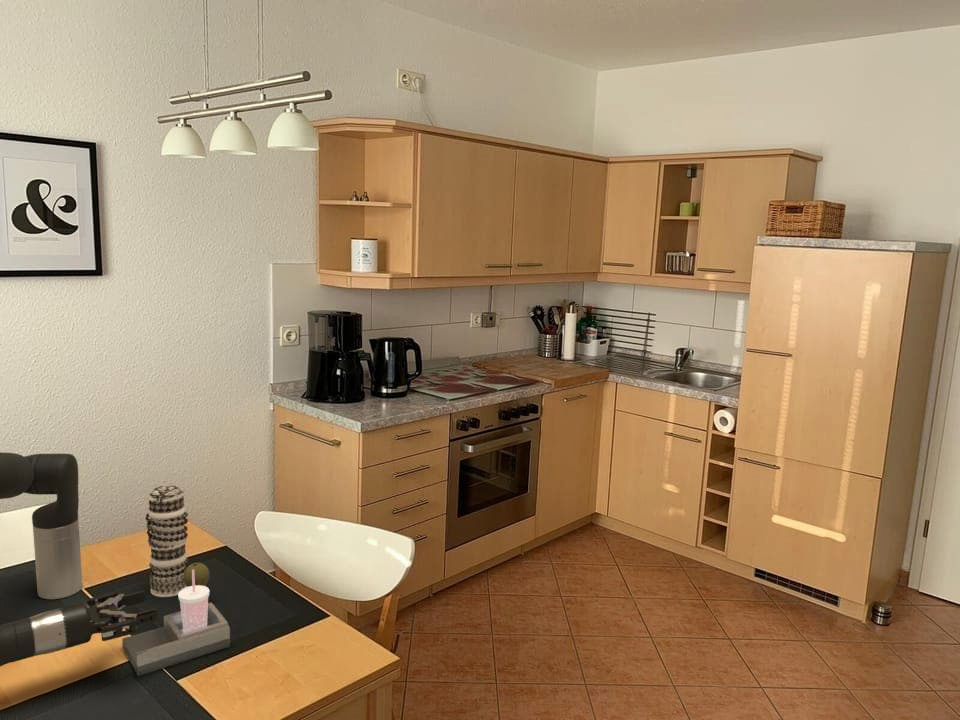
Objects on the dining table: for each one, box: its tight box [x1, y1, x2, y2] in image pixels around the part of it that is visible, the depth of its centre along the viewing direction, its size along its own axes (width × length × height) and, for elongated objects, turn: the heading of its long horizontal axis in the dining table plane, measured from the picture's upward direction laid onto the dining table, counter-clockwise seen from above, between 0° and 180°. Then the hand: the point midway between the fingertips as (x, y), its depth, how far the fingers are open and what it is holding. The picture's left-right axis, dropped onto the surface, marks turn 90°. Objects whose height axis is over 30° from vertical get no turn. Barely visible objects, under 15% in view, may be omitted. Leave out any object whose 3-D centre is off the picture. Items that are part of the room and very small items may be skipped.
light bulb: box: [183, 562, 210, 587], centre depth 171 cm, size 6×6×10 cm
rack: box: [121, 602, 231, 677], centre depth 154 cm, size 12×18×5 cm, turn 128°
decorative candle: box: [145, 485, 189, 598], centre depth 176 cm, size 9×9×25 cm
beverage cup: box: [177, 569, 211, 633], centre depth 155 cm, size 6×6×14 cm
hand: (150, 604), depth 150 cm, fingers open, 8 cm apart
